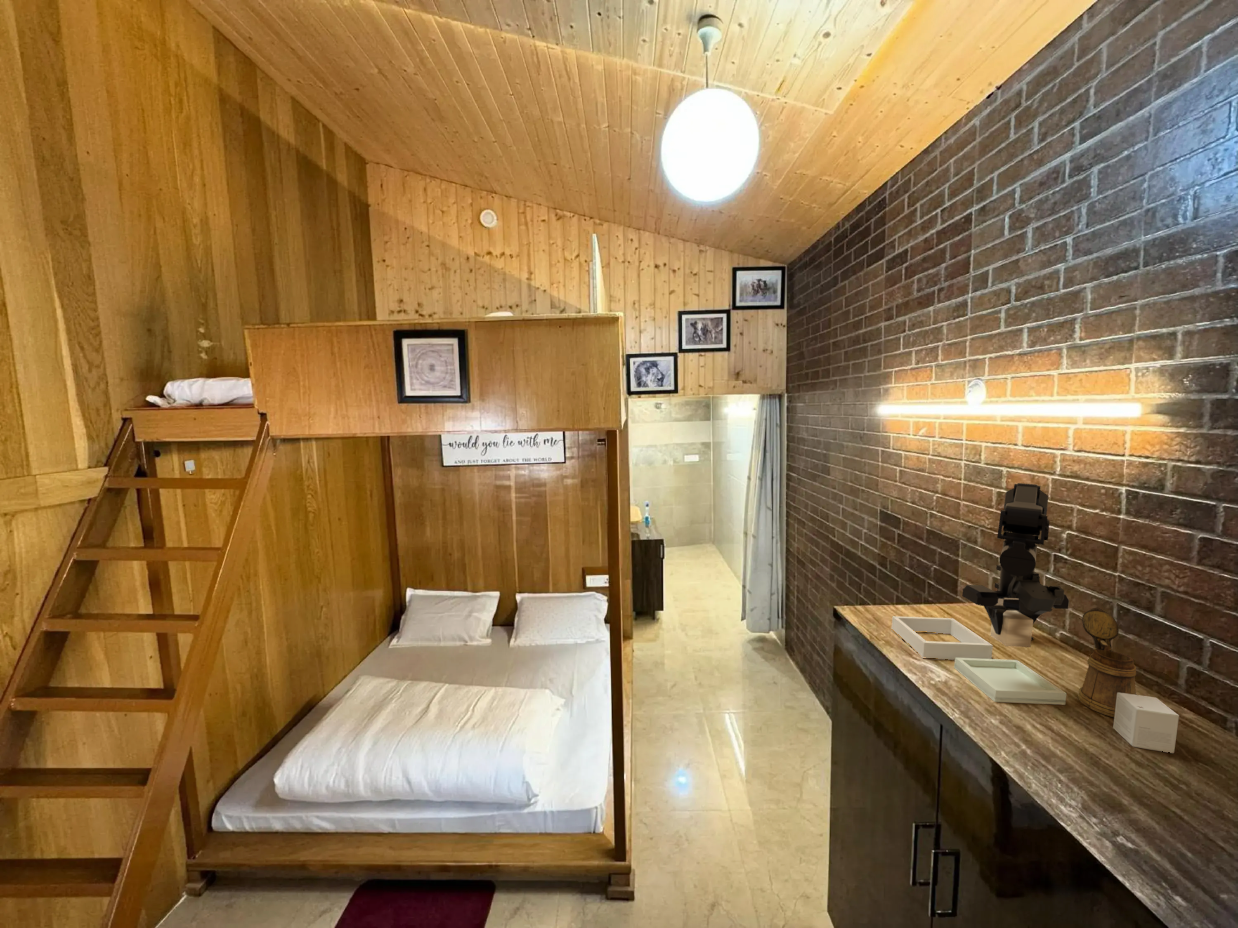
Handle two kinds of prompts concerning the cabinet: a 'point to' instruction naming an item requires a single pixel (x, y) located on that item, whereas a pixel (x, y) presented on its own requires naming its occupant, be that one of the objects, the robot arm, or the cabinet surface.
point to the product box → (1146, 722)
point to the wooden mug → (1105, 665)
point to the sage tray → (1009, 681)
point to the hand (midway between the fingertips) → (1010, 634)
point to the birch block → (1014, 630)
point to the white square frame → (965, 648)
